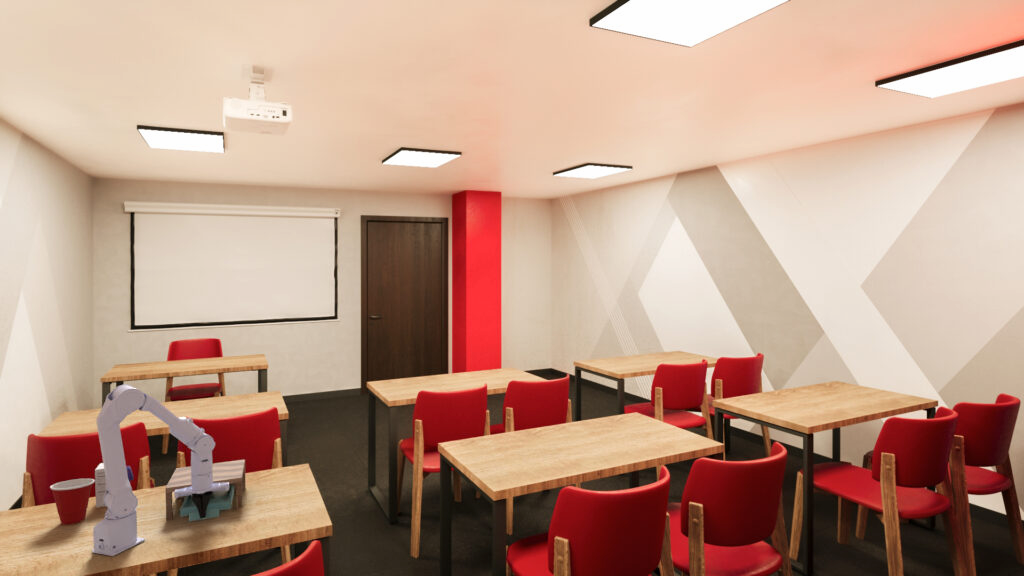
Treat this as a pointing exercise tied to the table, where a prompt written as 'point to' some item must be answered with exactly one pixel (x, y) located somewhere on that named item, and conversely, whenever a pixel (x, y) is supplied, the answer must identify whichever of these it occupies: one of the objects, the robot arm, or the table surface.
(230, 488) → the tray
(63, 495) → the plastic cup
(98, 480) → the supplement box
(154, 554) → the table surface
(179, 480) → the walnut shelf
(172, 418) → the robot arm
